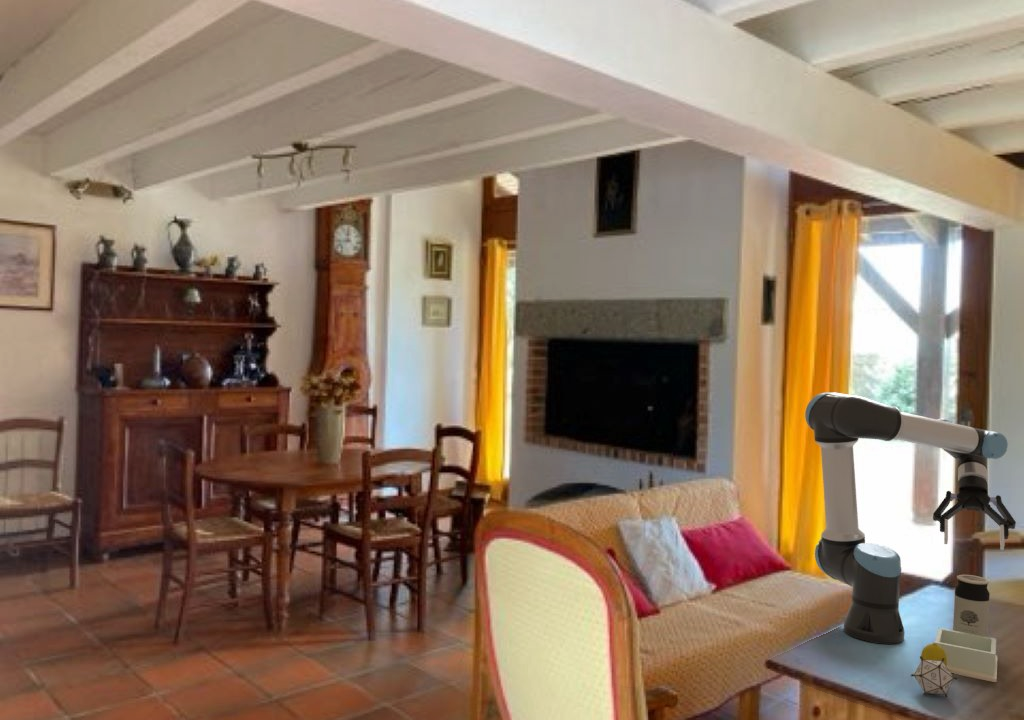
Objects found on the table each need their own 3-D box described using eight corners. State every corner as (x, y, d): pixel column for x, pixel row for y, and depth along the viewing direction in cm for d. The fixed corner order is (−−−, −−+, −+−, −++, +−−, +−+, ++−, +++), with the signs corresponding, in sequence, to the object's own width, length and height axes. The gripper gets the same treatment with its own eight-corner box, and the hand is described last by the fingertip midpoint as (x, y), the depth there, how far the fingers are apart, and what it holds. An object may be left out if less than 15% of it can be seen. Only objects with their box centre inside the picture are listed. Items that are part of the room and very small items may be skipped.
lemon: (923, 669, 204) (924, 637, 204) (948, 676, 200) (950, 643, 200) (917, 676, 199) (919, 643, 199) (942, 683, 196) (944, 649, 196)
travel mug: (959, 638, 227) (963, 572, 227) (991, 647, 221) (995, 579, 221) (946, 644, 222) (950, 577, 221) (979, 654, 216) (983, 584, 215)
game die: (934, 707, 191) (955, 669, 193) (949, 709, 183) (971, 670, 185) (898, 683, 193) (918, 645, 196) (911, 684, 185) (933, 645, 188)
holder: (996, 682, 198) (997, 658, 197) (930, 668, 205) (931, 645, 204) (997, 658, 213) (998, 636, 213) (935, 646, 220) (936, 624, 220)
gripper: (1021, 493, 241) (1025, 558, 228) (924, 485, 252) (922, 546, 239) (1024, 478, 236) (1028, 542, 223) (925, 470, 247) (923, 531, 234)
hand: (973, 544), depth 231 cm, fingers open, 13 cm apart
